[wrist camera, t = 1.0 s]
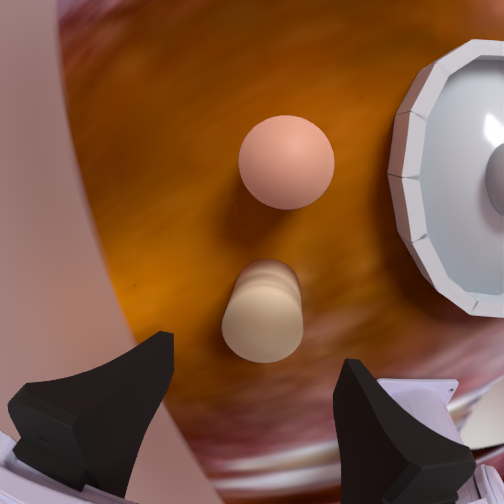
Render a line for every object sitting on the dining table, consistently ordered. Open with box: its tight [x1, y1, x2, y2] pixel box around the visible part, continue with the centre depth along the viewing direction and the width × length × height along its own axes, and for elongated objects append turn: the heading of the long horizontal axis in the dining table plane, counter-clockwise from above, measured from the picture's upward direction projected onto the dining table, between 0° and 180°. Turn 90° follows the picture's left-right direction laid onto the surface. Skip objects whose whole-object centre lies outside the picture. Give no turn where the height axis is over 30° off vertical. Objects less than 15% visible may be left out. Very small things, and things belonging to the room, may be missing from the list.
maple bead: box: [222, 259, 303, 363], centre depth 18 cm, size 4×4×5 cm
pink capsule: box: [239, 115, 334, 210], centre depth 15 cm, size 4×4×5 cm
